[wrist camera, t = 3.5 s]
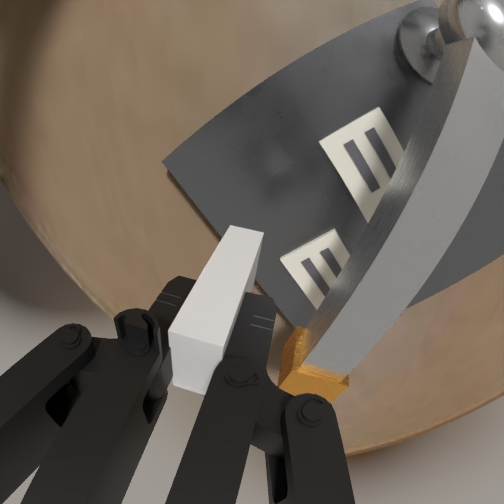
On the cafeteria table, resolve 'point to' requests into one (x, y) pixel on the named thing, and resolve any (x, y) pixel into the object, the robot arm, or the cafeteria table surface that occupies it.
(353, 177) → the label
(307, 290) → the label
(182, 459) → the robot arm
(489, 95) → the swing arm
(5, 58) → the cafeteria table surface
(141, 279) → the cafeteria table surface
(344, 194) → the board
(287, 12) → the cafeteria table surface
